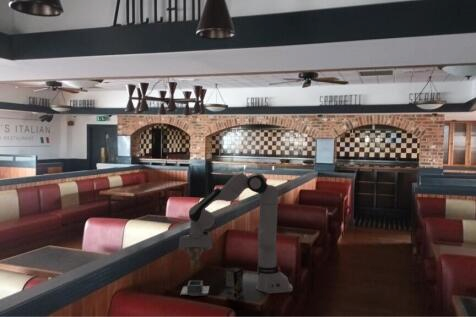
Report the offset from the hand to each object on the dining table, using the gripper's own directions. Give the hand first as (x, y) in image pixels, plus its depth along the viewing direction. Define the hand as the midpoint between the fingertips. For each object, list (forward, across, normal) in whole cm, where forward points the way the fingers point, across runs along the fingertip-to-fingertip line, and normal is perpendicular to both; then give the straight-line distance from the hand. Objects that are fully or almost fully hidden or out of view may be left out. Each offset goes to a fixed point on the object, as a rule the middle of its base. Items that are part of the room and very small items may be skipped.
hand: (194, 255), depth 237 cm
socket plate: (+16, 0, +16) cm, 23 cm away
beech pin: (+5, 0, +6) cm, 7 cm away
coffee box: (+21, +24, +11) cm, 34 cm away
